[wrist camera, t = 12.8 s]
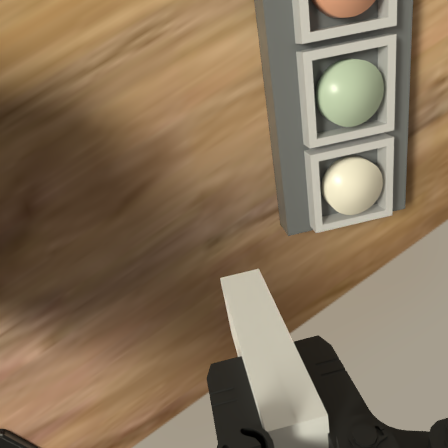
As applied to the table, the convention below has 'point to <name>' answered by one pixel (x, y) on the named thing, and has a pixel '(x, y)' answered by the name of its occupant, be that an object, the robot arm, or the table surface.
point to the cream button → (351, 185)
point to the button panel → (315, 122)
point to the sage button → (349, 92)
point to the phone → (13, 441)
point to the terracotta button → (342, 7)
